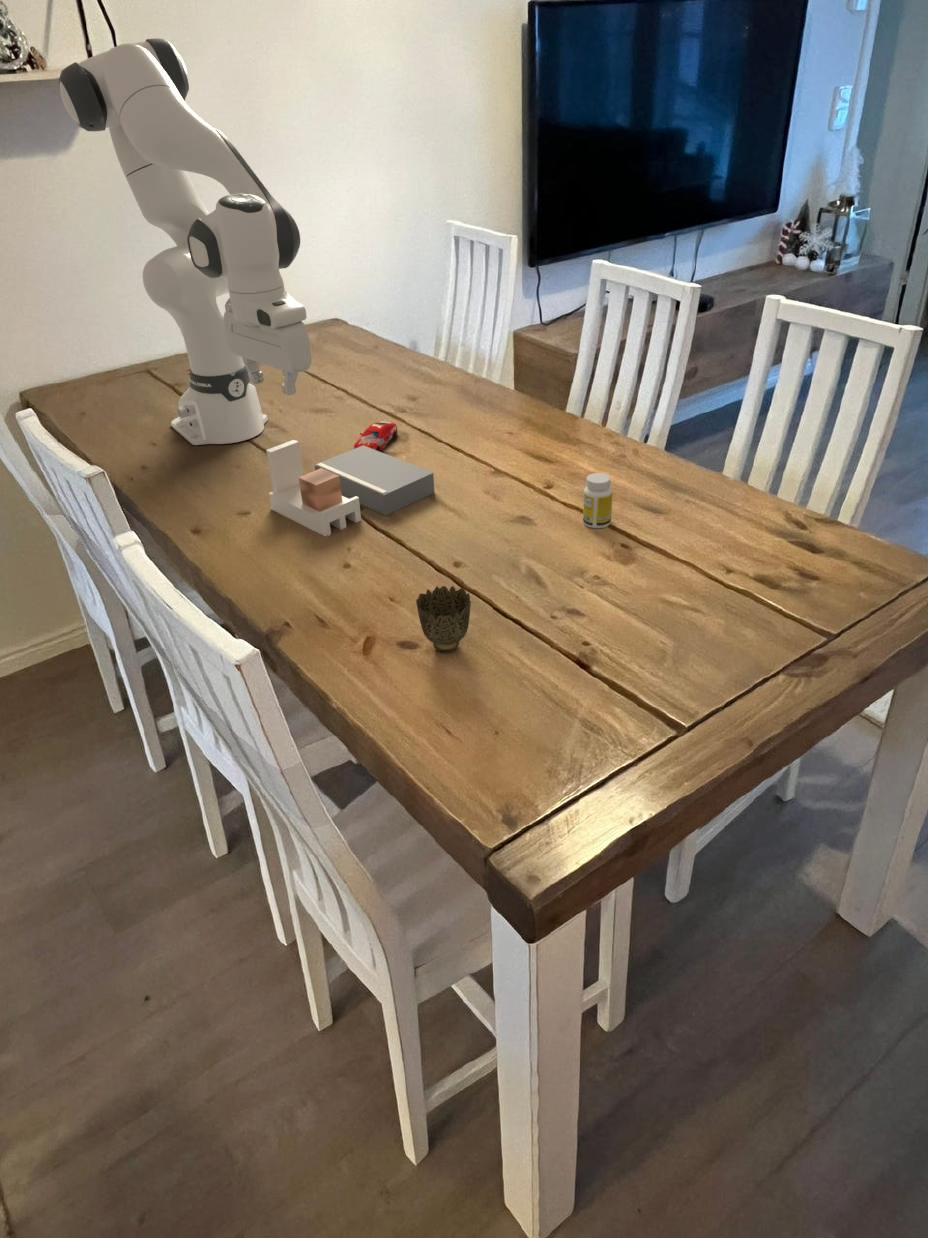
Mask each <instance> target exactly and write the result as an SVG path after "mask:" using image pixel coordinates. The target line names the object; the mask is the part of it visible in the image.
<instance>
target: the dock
mask: <svg viewBox="0 0 928 1238" xmlns="http://www.w3.org/2000/svg"><path fill="white" fill-rule="evenodd" d="M320 468H322V469H325V470H327V471H329V472H332V473H334V474H336V475H339V478H340V486H341V494H342V496H344V497H346V498H348V499H350V498H353V497H355V496H357V497H359V504H360V505H362V506H364V507H366V508H369V509H371V510H373V511H375V512H376V513H380V514H381V515H384V516H388V515H390V514H392V513H394V512H396V511H398V510H400V509H403V508H405V507H407V506H409V505H411V504H413V503H415V502H419V500H422V499H424V498H426V497H429V496H430V495H433V494H435V478H434V472H432V471H430V470H427V469H425V468H423V467H420V466H417V465H414V464H412V463H409V462H407V461H404V460H401V459H400V458H397V457H394V456H391V455H389V454H386V453H383V452H381V451H380V452H379V451H377V450H374V449H371V448H369V447H366V446H364V445H363V446H360V447H358V448H355V449H354V448H353V449H351V450H348V451H345V452H343V453H340V454H337V455H336V456H333V457H330V458H327V459H326V460H323V461H321V462H318V463H316V464H314V471H315V470H318V469H320Z"/></svg>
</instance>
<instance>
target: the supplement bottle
mask: <svg viewBox="0 0 928 1238" xmlns="http://www.w3.org/2000/svg"><path fill="white" fill-rule="evenodd" d="M611 483H612V481H611V476H610V475H608V474H607V473H603V472H595V473H591V474H588V476H587V477H586V481H585V484H586V486H585V487H584V489H583V509H582V511H583V513H582V519H583V520H582V522H583V524H584V525H585V526H586V527H588V528H592V529H603V528H606V527H609V526H610V525H611V522H612V512H613V511H612V506H613V489H612V487H611Z"/></svg>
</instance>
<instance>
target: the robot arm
mask: <svg viewBox="0 0 928 1238" xmlns="http://www.w3.org/2000/svg"><path fill="white" fill-rule="evenodd" d="M187 70H188V69H187V67H186V65H185V62H184V60H183V58H182V56H181V55H180V54H179V52H178V51H177V49H176V47H175V46H174V44H172V43H171V42H169V40H168V39H165V38H155V37H154V38H147V39H145V41H140V42H134V43H122V44H118V45H116V46H114V47H111V48H110V49H109V50H107V51H103V52H101V53H98V54H96V55H92V56H91V57H89V58H87V59H84V60H82V61H80V62H76V61H74V62H73V63H71V64H69V65H68V66H66V67H64V69H62V70H61V71H60V75H59V78H58V82H59V90H60V91H59V93H60V97H61V100H62V104H63V106H64V109H65V110H66V112H67V113H68V114H69V116H70V117H71V118H72V120H73V121H74V122H76V123H77V125H78V126H79V128H81V129H83V130H85V131H87V132H103V131H104V132H105V131H106V129H107V128H108V131H109V134H110V138H111V141H112V144H113V145H112V146H113V148H114V151H115V154H116V157H117V160H118V163H119V165H120V167H121V170H122V172H123V174H124V175H123V176H125V179H126V181H127V184H128V185H129V188H130V190H131V192H132V194H133V197H134V199H135V201H136V203H137V206H138V207H139V209H140V212H141V214H142V216H143V218H144V219H145V220H146V221H147V222H148V223H149V224H151V225H152V226H154V227H157V228H159V229H161V230H162V231H163V232H165V233H166V234H167V235H168V236H169V237H170V238H171V239H172V241H173V243H175V245H176V246H173V247H171V248H170V247H169V248H167V249H164V250H162V251H161V252H159V253H158V254H156V255H155V256H153V257H152V258H150V259H149V260H148V261H147V262H145V265H144V267H143V269H142V282H143V286H144V289H145V291H146V293H147V295H148V297H149V298H150V299H151V301H152V302H153V303H154V304H155V305H156V306H158V307H159V308H161V309H162V310H165V311H166V312H167V313H168V314H169V315H170V316H171V317H172V318H173V320H174V321H175V323H176V325H177V326H178V328H179V330H180V333H181V335H182V337H183V342H184V345H185V349H186V353H187V357H188V360H189V365H190V366H189V367H190V368H189V369H187V370H186V372H188V373H187V374H186V375H187V376H189V377H188V380H189V387H188V388H187V390H186V391H185V392H184V393H183V394H182V395H181V397H179V398H178V407H177V409H176V411H177V414H178V417H176V418H174V419H173V420H171V422H170V423H171V428H173V429H174V430H175V431H176V432H177V433H179V435H181V436H182V437H184V439H185V440H187V441H188V442H189V443H190V444H191V445H194V446H199V445H200V446H201V445H202V446H203V445H225V444H233V443H234V444H235V443H239V442H243V441H247V440H251V439H253V438H254V437H256V436H258V435H260V434H261V433H262V432H263V431H264V430H265V429H264V428H265V424H266V422H268V420H269V418H268V416H267V414H264V413H263V412H262V407H261V404H260V400H259V396H258V393H257V388H256V387H255V385H253V384H256V385H258V384H262V383H264V381H265V380H264V374H263V371H261V370H260V368H259V365H258V363H259V364H263V365H265V366H269V367H272V368H274V369H278V370H280V371H281V374H282V376H283V377H284V380H283V382H284V383H281V384H280V385H281V386H280V387H281V392H282V394H284V395H287V396H293V395H296V392H297V389H296V382H297V379H298V378H297V377H298V375H299V373H303V372H306V371H308V370H310V369H311V365H312V363H313V358H312V349H311V342H310V341H311V340H310V337H309V336H310V335H309V332H308V329H307V326H306V324H305V323H304V322H303V321H305V320H307V318H308V317H307V310H306V307H305V306H304V305H303V304H301V303H299V302H298V301H297V300H296V299H294V298H293V296H291V294H290V293H289V292H288V291H285V290H286V289H285V284H284V280H283V277H282V275H281V272H280V269H287V268H289V267H290V266H291V264H292V263H293V262H294V260H295V258H296V257H297V254H298V253H299V249H300V247H301V235H300V234H301V233H300V230H299V227H298V225H297V223H296V221H295V219H294V218H293V216H292V215H291V213H290V212H289V211H288V210H287V209H286V208H285V207H284V206H283V205H281V203H280V202H278V201H277V200H276V199H275V198H274V196H273V195H272V194H271V193H270V191H269V190H268V189H267V188H266V187H265V185H264V184H263V182H262V180H260V179H259V177H258V176H257V174H256V173H255V171H254V170H253V169H252V168H251V167H250V166H249V163H247V161H246V160H245V159H244V157H243V156H242V155H241V153H240V152H239V151H238V149H237V148H236V147H235V145H233V143H232V142H231V141H230V139H229V138H228V137H227V136H226V135H225V134H224V133H223V132H222V131H221V130H220V129H217V128H216V127H214V126H211V125H210V124H209V123H207V122H206V121H205V120H204V119H202V118H201V117H200V116H198V115H197V114H196V113H195V111H193V110H192V109H191V108H190V106H189V105H188V104H187V103H186V102H185V100H186V98H187V96H188V94H189V90H190V84H189V76H188V71H187ZM189 172H190V173H194V174H195V173H196V174H199V175H203V176H206V177H209V178H211V179H213V180H215V181H216V182H218V183H220V184H221V185H222V186H223V187H224V189H225V190H226V191H227V192H228V193H229V194H228V195H225V196H222V197H221V198H220V199H218V200H217V201H216V205H215V208H214V210H213V211H212V212H210V211H209V210H208V208H206V206H205V205H204V202H203V201H202V200H201V198H200V196H199V193H198V192H197V190H196V188H195V186H194V183H193V181H192V179H191V177H190V175H189ZM227 293H228V295H229V298H228V299H227V300H226V302H225V304H224V310H225V311H224V313H223V315H222V313H221V311H220V309H219V307H218V303H217V298H218V297H220V296H222V295H226V294H227ZM250 382H251V383H250ZM252 383H253V384H252Z"/></svg>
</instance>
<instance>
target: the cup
mask: <svg viewBox="0 0 928 1238" xmlns="http://www.w3.org/2000/svg"><path fill="white" fill-rule="evenodd" d="M470 599H471V596H470V593H467V591H466V590H465V589H464V588H463V587H460V588H459V589H458V590H456V588H455V586H453V585H451V586H450V588H449V589H448V587H447V586H446V585H443V586H441V587H438V586H435V588H434V589H433V591H431V590H430V589H429V588H427V590H426V593H421V592H420V593H419V594H418V598H417V599H416V600H415V603H416V607H417V612H418V613H417V614H418V617H419V623H420V627H421V630H422V632H423V634H424V637H426V639H427V640H428V641H430V642H431V643H432V646H433V647H434V649H435V650H436V651H437V652H439V651H440V652H439V653H442V652H450V653H453V652H455V651H457V649H458V648H459V645H460V641H462V639H464V637H465V636H466V634H467V632H468V628H469V624H470V618H471V617H470V616H471V606H472V605H471V604H472V601H471V600H470ZM454 650H455V651H454ZM452 651H453V652H452Z"/></svg>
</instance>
